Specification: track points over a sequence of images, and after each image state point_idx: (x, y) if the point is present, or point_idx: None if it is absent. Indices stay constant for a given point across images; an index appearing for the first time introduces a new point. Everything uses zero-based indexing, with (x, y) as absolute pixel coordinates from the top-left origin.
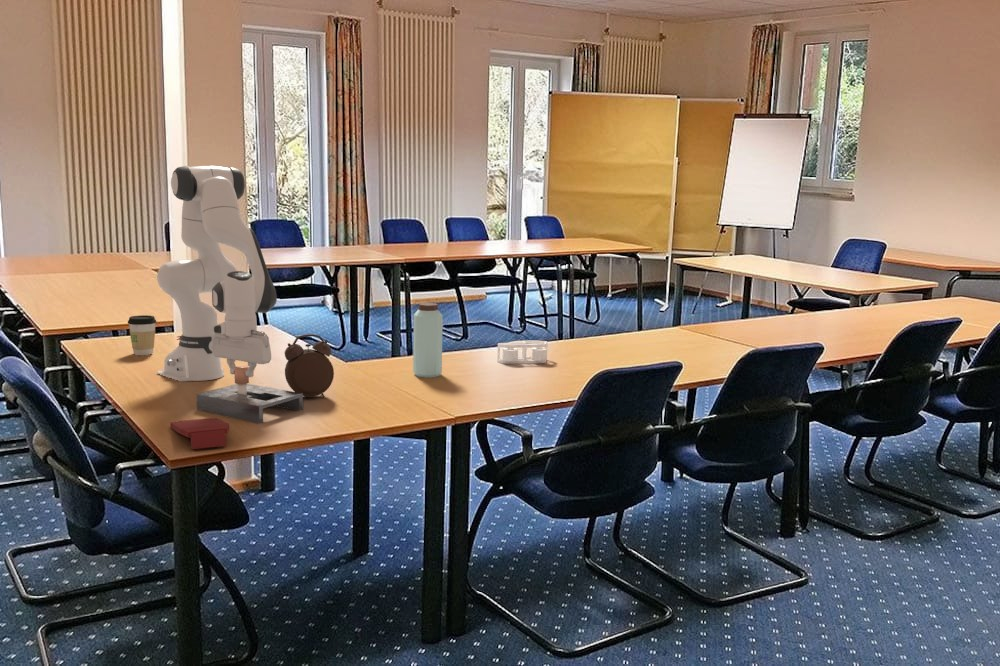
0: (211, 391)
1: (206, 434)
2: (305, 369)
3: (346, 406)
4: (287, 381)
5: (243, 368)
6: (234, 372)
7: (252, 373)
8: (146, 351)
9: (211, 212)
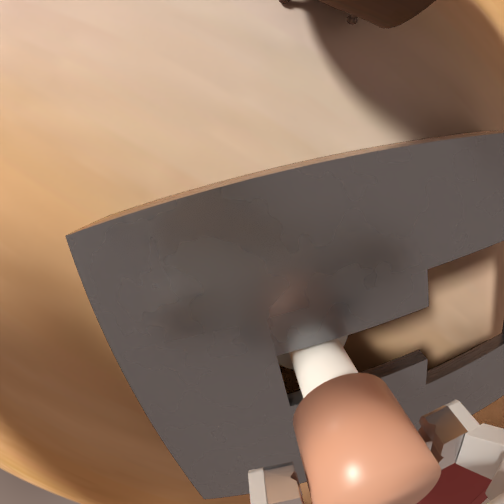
0: (193, 459)
1: None
2: None
3: (500, 5)
4: (347, 5)
5: (422, 493)
6: (300, 491)
7: (465, 418)
8: None
9: None
